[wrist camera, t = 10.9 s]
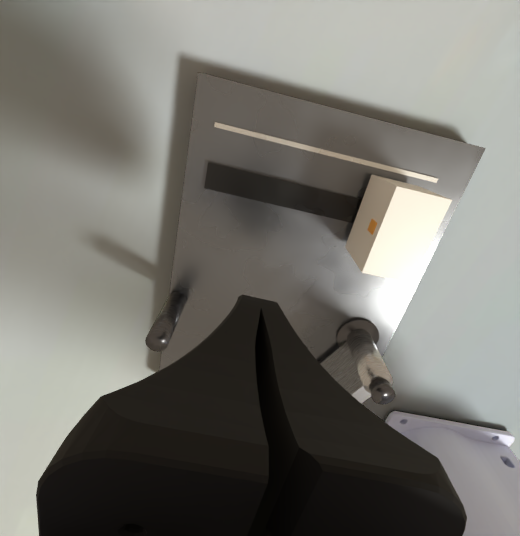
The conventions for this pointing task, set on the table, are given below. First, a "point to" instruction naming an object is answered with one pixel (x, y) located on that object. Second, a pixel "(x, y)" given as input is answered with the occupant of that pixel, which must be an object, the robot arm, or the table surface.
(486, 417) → the table surface
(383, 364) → the door
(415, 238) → the fader knob
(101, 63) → the table surface
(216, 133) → the console plate
